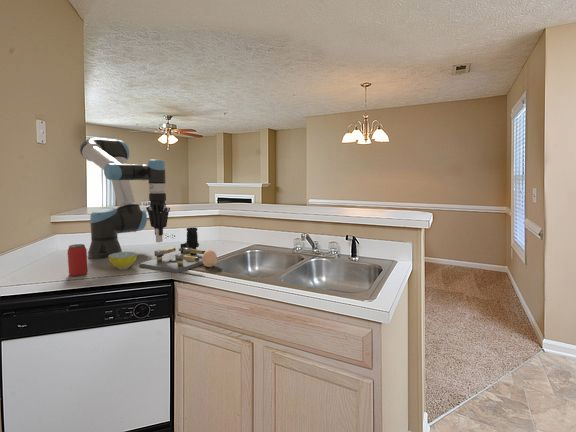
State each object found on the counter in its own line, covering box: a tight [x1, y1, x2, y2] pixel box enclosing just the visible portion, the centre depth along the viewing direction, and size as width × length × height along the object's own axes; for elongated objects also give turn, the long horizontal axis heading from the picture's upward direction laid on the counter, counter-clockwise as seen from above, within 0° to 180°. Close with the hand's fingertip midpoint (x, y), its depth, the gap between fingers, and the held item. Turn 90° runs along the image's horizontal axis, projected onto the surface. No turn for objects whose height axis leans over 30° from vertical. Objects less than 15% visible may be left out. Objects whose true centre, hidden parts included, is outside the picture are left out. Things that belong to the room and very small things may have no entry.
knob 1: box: [183, 247, 206, 256], centre depth 159 cm, size 12×4×5 cm, turn 66°
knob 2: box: [174, 253, 200, 266], centre depth 146 cm, size 12×4×5 cm, turn 66°
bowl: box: [107, 251, 138, 271], centre depth 148 cm, size 11×12×6 cm
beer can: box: [67, 243, 89, 277], centre depth 137 cm, size 7×7×12 cm
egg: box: [201, 249, 218, 268], centre depth 152 cm, size 7×7×8 cm
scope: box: [178, 227, 200, 256], centre depth 176 cm, size 8×14×10 cm
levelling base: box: [138, 254, 204, 274], centre depth 155 cm, size 22×20×2 cm
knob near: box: [153, 247, 176, 262], centre depth 157 cm, size 12×4×5 cm, turn 156°
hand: (159, 241), depth 162 cm, fingers closed
